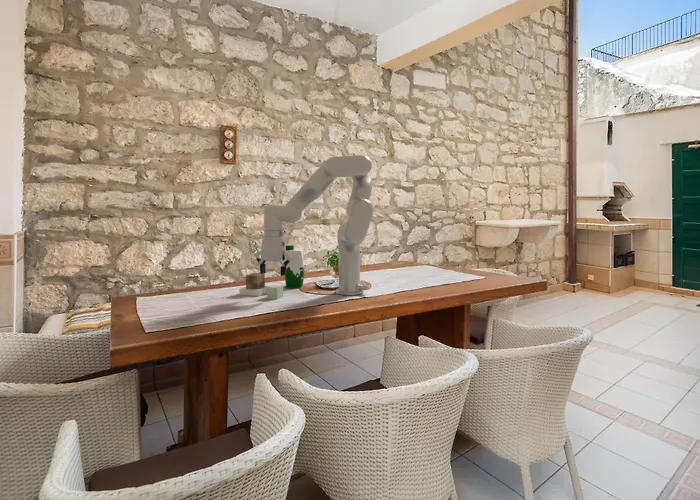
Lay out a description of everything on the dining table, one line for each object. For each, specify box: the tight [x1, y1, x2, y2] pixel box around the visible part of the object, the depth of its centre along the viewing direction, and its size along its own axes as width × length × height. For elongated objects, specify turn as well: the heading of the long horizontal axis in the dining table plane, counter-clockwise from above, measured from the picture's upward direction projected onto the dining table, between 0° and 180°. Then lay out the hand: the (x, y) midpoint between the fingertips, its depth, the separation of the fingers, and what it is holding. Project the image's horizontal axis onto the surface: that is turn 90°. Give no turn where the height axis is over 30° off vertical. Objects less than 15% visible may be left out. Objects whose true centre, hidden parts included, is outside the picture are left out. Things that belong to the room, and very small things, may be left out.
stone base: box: [238, 285, 269, 297], centre depth 183 cm, size 10×10×2 cm
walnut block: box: [245, 272, 266, 289], centre depth 183 cm, size 6×6×6 cm
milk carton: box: [284, 244, 305, 289], centre depth 197 cm, size 9×9×20 cm
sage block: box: [266, 284, 284, 300], centre depth 174 cm, size 5×5×5 cm
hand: (272, 274), depth 173 cm, fingers open, 9 cm apart
